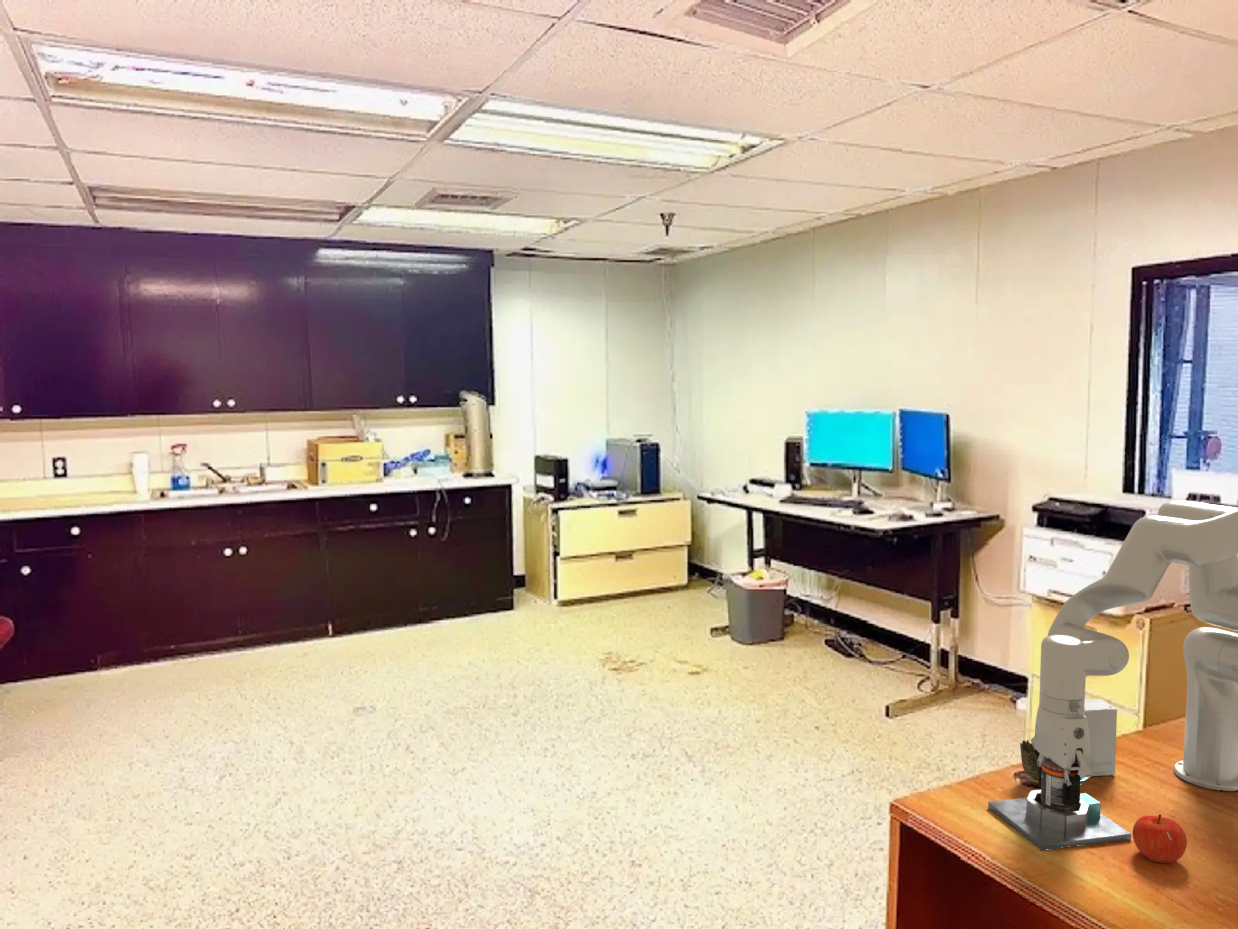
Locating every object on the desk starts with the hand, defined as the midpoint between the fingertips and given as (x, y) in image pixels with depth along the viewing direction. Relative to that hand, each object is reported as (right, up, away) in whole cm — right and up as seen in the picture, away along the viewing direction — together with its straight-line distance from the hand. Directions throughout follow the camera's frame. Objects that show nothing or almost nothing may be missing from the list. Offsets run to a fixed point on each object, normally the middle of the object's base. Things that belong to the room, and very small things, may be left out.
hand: (1058, 794), depth 164 cm
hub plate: (0, -6, 0) cm, 6 cm away
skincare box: (+17, -3, +22) cm, 28 cm away
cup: (+4, -4, +16) cm, 17 cm away
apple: (+12, -7, -12) cm, 18 cm away
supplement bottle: (0, -3, 0) cm, 3 cm away
